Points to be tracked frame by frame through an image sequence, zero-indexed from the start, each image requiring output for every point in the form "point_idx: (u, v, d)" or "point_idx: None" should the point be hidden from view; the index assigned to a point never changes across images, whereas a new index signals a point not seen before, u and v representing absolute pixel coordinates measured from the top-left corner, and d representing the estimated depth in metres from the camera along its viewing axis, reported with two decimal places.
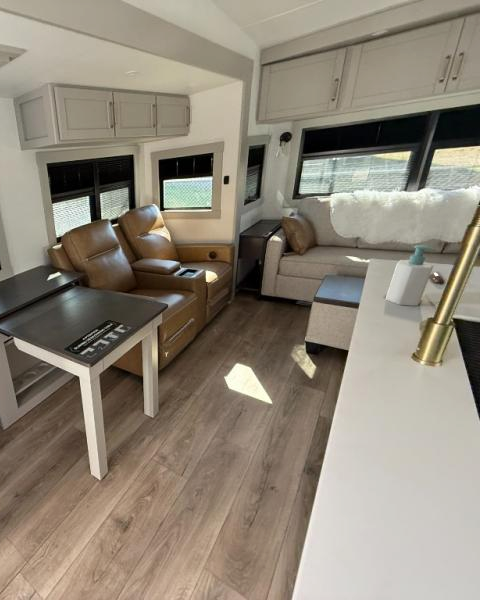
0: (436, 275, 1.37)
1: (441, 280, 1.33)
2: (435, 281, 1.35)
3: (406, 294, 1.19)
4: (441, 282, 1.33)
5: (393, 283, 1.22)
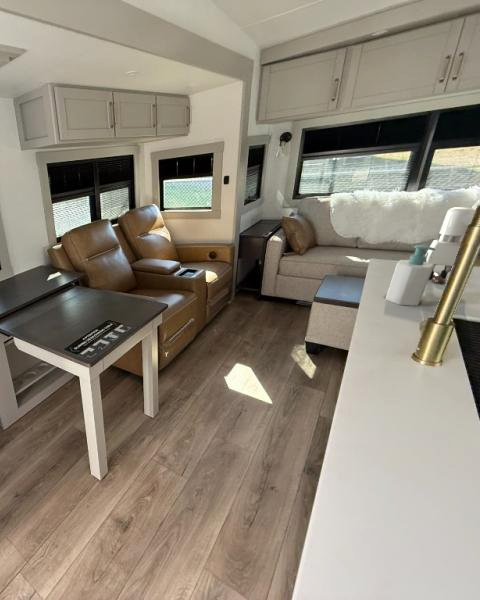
0: (436, 275, 1.37)
1: (441, 280, 1.33)
2: (435, 281, 1.35)
3: (406, 294, 1.19)
4: (441, 282, 1.33)
5: (393, 283, 1.22)
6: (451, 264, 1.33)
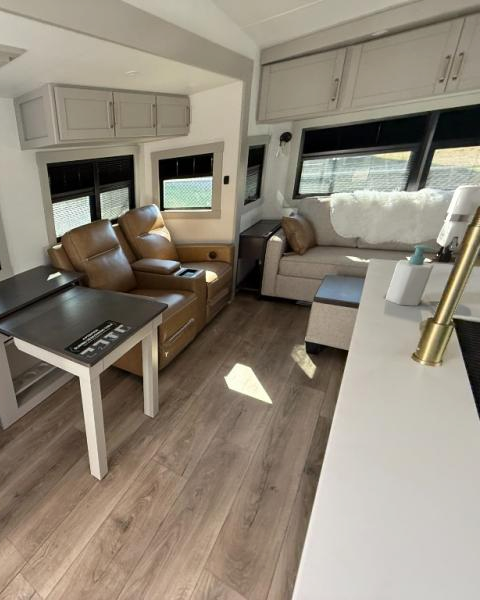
0: None
1: None
2: None
3: (406, 294, 1.19)
4: None
5: (393, 283, 1.22)
6: None
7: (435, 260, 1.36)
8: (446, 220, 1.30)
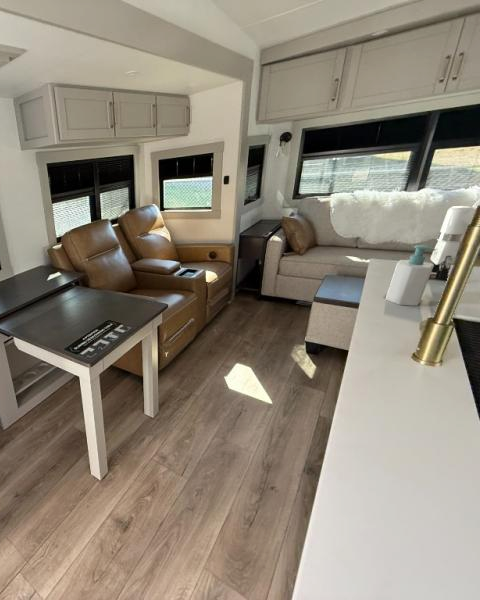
0: None
1: None
2: None
3: (406, 294, 1.19)
4: None
5: (393, 283, 1.22)
6: None
7: None
8: (439, 239, 1.33)
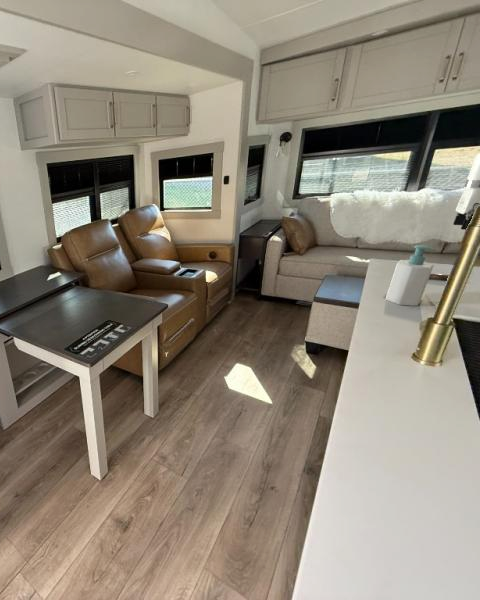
0: (441, 275, 1.37)
1: None
2: None
3: (406, 294, 1.19)
4: None
5: (393, 283, 1.22)
6: None
7: None
8: (466, 187, 1.28)
